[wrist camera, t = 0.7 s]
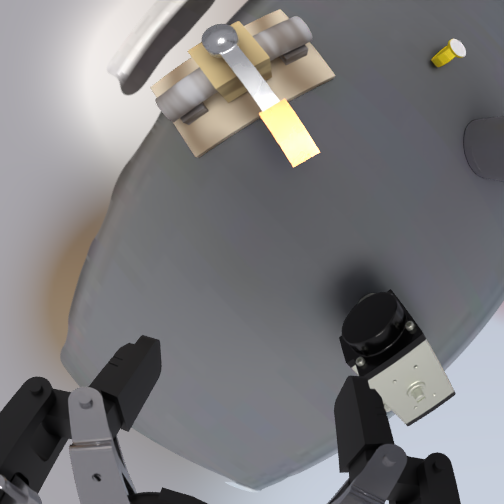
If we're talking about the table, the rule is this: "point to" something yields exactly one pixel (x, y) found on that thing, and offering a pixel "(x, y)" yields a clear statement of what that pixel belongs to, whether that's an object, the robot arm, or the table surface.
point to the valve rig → (230, 87)
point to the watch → (449, 53)
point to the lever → (262, 95)
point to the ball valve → (394, 357)
